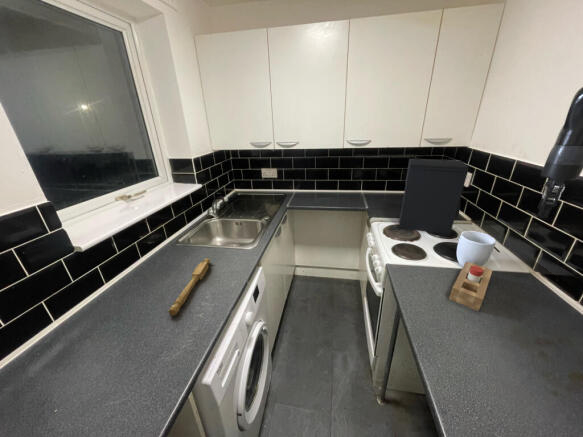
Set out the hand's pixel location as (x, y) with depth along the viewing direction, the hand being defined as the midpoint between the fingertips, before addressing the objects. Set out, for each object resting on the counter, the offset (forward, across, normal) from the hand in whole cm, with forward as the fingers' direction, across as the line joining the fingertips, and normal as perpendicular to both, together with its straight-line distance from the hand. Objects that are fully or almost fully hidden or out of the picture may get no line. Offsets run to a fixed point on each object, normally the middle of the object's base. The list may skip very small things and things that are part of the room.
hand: (542, 213), depth 72 cm
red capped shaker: (+28, -13, +10) cm, 33 cm away
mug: (+28, +5, +13) cm, 32 cm away
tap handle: (+28, -80, +87) cm, 122 cm away
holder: (+28, -13, +10) cm, 33 cm away
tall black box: (+28, +33, +38) cm, 58 cm away
